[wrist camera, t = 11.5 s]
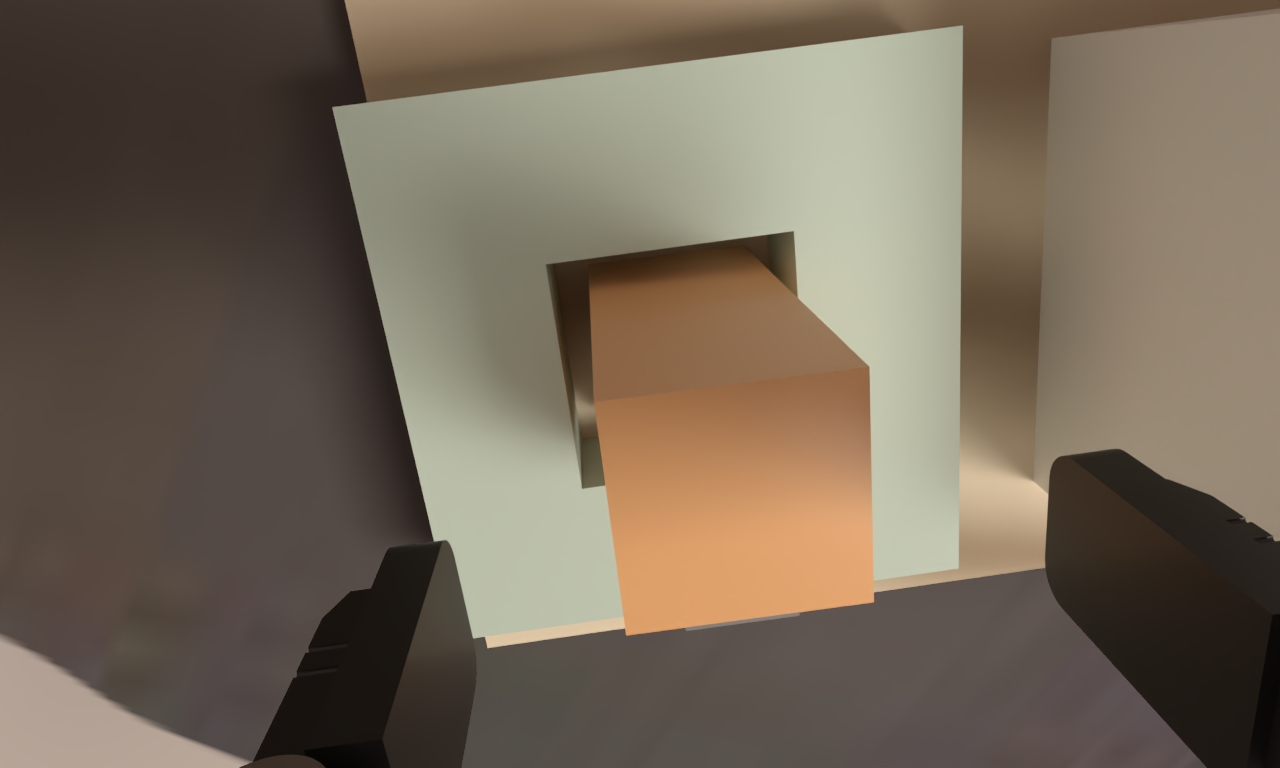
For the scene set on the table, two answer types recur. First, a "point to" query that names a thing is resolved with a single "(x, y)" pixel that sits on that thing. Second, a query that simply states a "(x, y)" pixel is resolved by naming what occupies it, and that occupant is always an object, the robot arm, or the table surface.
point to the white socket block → (1166, 256)
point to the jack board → (739, 24)
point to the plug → (728, 444)
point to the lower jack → (649, 220)
